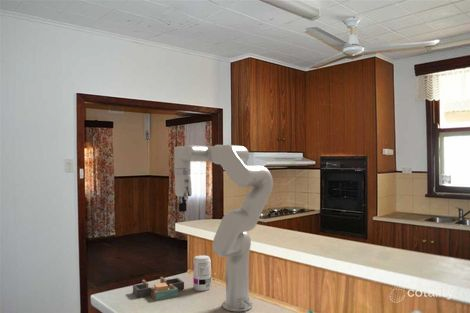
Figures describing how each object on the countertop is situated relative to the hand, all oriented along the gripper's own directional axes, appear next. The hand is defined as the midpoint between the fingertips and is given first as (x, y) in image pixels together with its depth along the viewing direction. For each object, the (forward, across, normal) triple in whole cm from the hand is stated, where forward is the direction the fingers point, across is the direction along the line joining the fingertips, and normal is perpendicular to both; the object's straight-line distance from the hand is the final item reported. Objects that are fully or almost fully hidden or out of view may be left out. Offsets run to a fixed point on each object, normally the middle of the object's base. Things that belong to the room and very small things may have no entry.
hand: (182, 211), depth 176 cm
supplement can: (+37, -2, -9) cm, 38 cm away
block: (+37, -1, +11) cm, 39 cm away
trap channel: (+37, +5, +10) cm, 39 cm away
